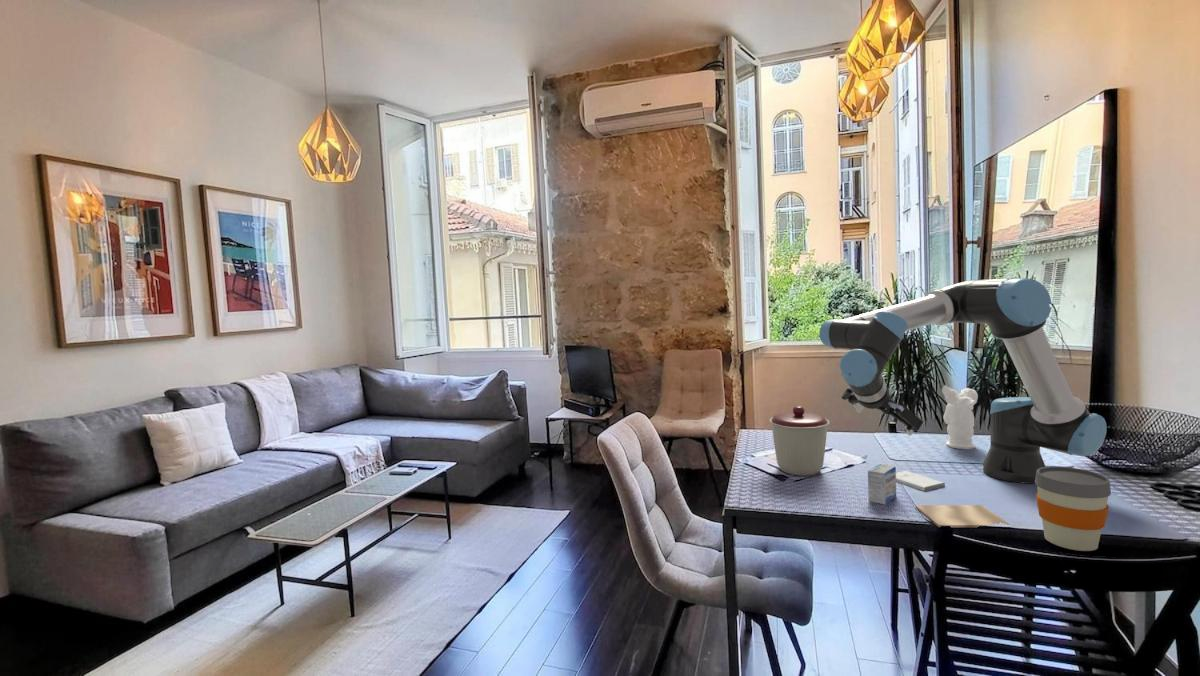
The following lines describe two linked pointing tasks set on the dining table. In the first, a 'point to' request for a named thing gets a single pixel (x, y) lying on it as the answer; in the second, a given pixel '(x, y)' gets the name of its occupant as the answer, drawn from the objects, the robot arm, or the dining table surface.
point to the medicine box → (882, 484)
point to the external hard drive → (917, 481)
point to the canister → (799, 441)
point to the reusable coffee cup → (1072, 506)
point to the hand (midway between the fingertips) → (885, 419)
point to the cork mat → (960, 515)
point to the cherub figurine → (960, 417)
